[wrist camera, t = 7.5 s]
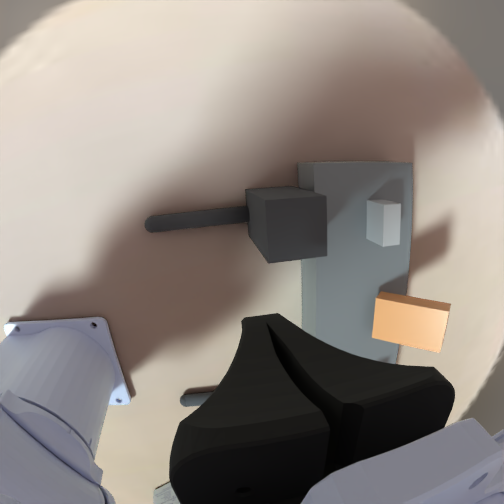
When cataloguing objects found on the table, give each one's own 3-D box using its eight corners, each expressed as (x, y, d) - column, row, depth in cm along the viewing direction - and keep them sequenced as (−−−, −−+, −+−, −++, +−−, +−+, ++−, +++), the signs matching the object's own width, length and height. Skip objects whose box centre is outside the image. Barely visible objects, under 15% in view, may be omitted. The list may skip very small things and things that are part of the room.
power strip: (301, 405, 26) (318, 444, 21) (297, 162, 20) (326, 163, 16) (371, 387, 27) (396, 420, 22) (388, 161, 21) (431, 164, 17)
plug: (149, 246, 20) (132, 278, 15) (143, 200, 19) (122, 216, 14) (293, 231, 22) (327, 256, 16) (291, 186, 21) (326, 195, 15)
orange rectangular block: (371, 337, 21) (439, 352, 18) (375, 297, 20) (448, 311, 17) (377, 329, 22) (442, 343, 18) (381, 291, 21) (450, 303, 18)
